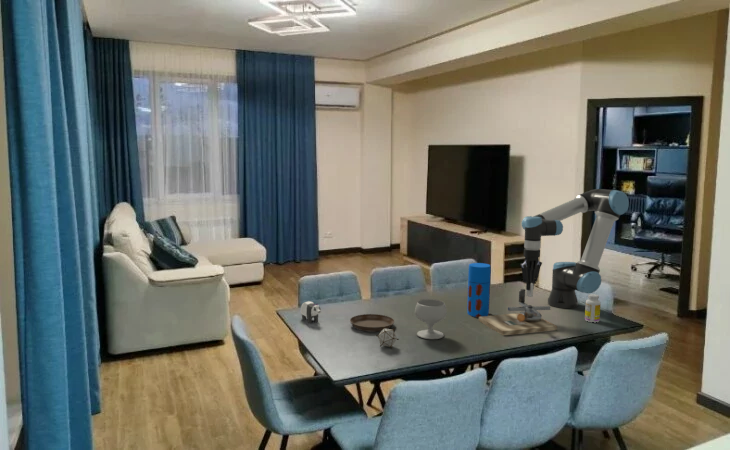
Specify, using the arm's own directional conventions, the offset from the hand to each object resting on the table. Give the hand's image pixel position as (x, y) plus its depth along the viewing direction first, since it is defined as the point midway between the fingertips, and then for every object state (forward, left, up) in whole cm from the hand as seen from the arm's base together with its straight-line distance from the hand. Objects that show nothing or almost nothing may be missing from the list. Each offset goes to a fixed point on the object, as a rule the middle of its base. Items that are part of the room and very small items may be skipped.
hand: (529, 296), depth 268 cm
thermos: (+21, -13, -11) cm, 27 cm away
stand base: (+12, +8, -11) cm, 18 cm away
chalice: (+57, +10, -11) cm, 59 cm away
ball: (+11, +10, -9) cm, 17 cm away
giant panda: (+103, -24, -11) cm, 107 cm away
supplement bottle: (-27, +12, -11) cm, 32 cm away
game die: (+80, +18, -11) cm, 83 cm away
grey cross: (+7, +10, -8) cm, 15 cm away
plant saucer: (+78, -9, -12) cm, 79 cm away
